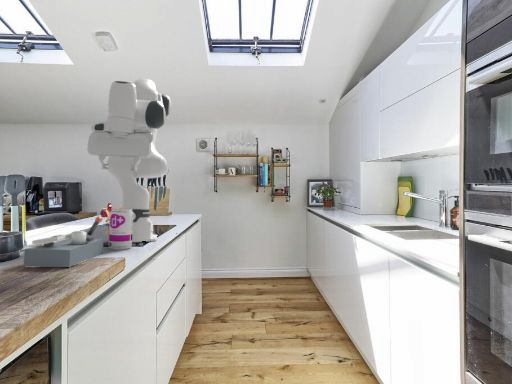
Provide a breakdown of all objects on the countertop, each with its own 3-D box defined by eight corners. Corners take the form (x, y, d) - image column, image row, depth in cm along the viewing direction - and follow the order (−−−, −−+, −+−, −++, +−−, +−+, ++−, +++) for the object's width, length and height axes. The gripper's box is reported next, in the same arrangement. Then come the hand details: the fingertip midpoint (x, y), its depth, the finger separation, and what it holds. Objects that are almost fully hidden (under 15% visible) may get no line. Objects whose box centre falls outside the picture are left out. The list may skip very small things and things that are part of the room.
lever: (87, 232, 104) (98, 215, 105) (93, 235, 104) (104, 218, 105) (85, 233, 102) (96, 215, 103) (90, 236, 102) (101, 219, 103)
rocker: (41, 242, 93) (40, 238, 93) (65, 238, 93) (64, 234, 93) (32, 244, 89) (31, 240, 89) (57, 239, 89) (57, 235, 89)
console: (66, 252, 108) (67, 235, 108) (102, 253, 108) (103, 236, 108) (23, 267, 86) (24, 245, 86) (69, 268, 86) (70, 246, 87)
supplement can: (123, 250, 115) (125, 209, 115) (103, 249, 116) (105, 208, 117) (136, 247, 123) (137, 209, 123) (117, 245, 124) (119, 208, 125)
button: (75, 242, 99) (75, 230, 99) (88, 242, 99) (88, 231, 99) (68, 244, 95) (69, 232, 95) (82, 244, 95) (82, 232, 96)
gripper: (155, 132, 109) (153, 172, 109) (95, 129, 108) (92, 169, 107) (150, 128, 103) (148, 170, 102) (86, 125, 101) (84, 167, 101)
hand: (119, 169), depth 105 cm, fingers open, 8 cm apart
